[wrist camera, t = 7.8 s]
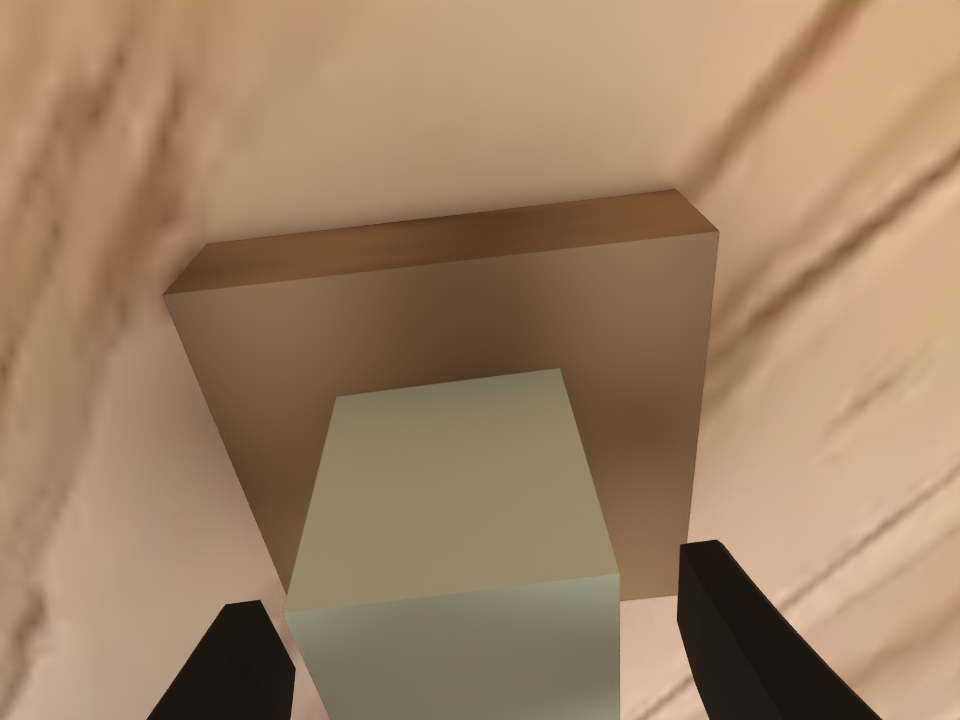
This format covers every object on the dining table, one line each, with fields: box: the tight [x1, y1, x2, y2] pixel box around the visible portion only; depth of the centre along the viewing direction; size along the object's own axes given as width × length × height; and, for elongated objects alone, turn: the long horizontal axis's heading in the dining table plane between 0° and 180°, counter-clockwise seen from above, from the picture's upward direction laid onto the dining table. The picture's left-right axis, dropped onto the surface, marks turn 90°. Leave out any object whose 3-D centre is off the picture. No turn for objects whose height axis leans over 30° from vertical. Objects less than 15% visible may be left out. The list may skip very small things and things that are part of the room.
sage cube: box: [283, 368, 620, 720], centre depth 12 cm, size 4×4×5 cm
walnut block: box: [162, 190, 719, 601], centre depth 15 cm, size 10×10×3 cm
